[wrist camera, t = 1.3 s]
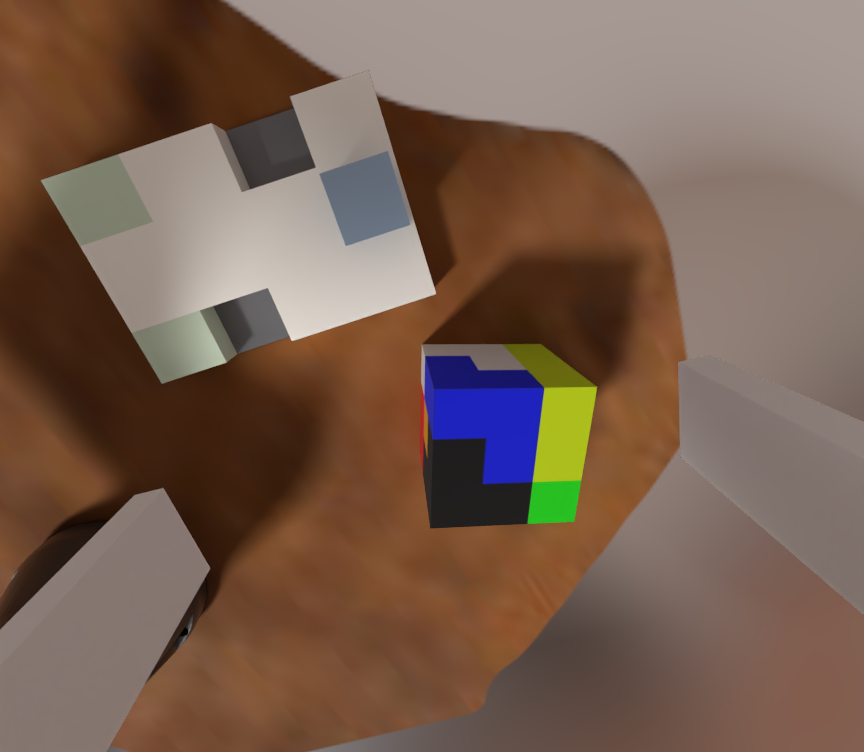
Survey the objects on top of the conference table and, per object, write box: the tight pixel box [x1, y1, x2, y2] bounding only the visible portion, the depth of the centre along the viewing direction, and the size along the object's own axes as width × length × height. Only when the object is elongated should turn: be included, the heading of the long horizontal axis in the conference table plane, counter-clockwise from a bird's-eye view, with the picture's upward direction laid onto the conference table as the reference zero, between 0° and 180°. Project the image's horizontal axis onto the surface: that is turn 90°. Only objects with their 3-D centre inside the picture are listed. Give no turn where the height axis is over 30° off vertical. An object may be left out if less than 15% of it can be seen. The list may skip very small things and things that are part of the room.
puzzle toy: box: [420, 344, 597, 528], centre depth 31 cm, size 10×10×10 cm
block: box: [319, 151, 410, 246], centre depth 25 cm, size 4×4×4 cm
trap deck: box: [41, 70, 436, 384], centre depth 28 cm, size 21×14×2 cm, turn 107°
